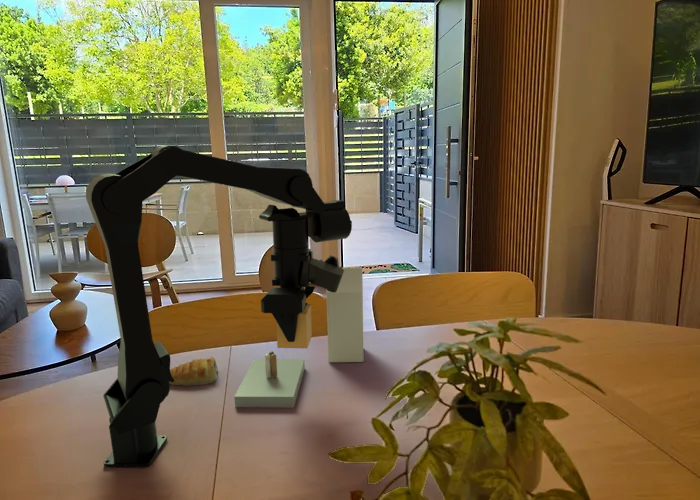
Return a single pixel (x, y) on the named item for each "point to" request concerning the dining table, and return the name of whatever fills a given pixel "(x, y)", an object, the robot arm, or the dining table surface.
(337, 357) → the milk carton
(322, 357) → the dining table surface
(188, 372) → the pastry
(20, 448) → the dining table surface
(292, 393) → the pale green flat slab
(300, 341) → the small yellow upright block
